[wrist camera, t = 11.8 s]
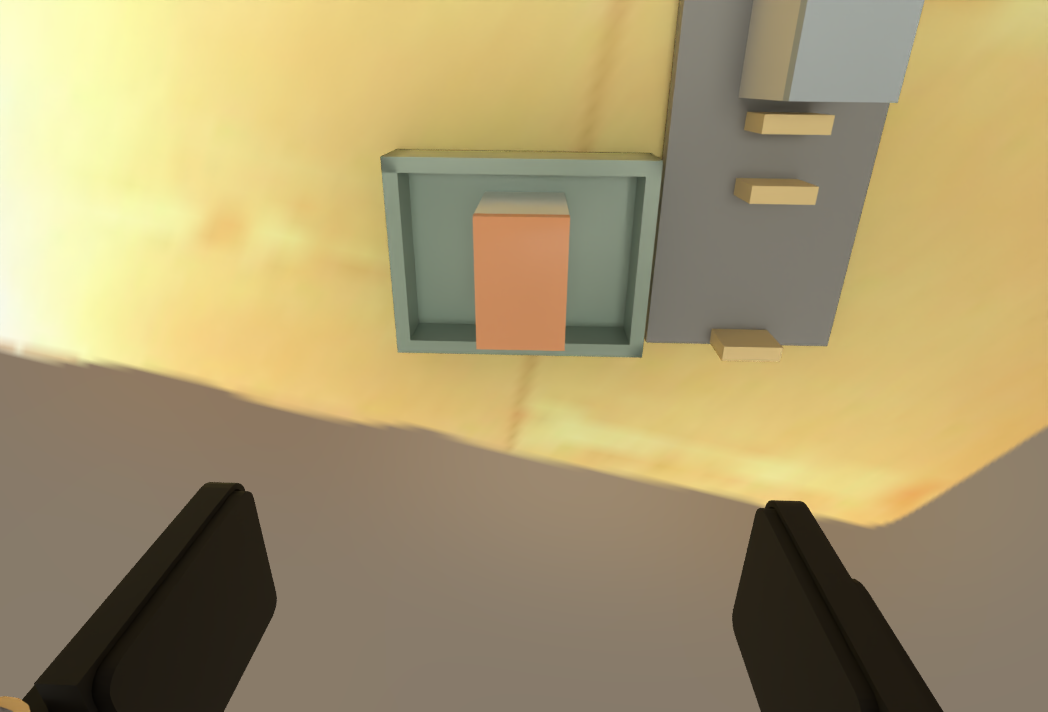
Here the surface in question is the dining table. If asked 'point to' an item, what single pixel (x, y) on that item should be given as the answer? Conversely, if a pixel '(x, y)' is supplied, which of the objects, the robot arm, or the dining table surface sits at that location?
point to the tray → (448, 256)
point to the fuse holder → (769, 166)
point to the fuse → (521, 270)
